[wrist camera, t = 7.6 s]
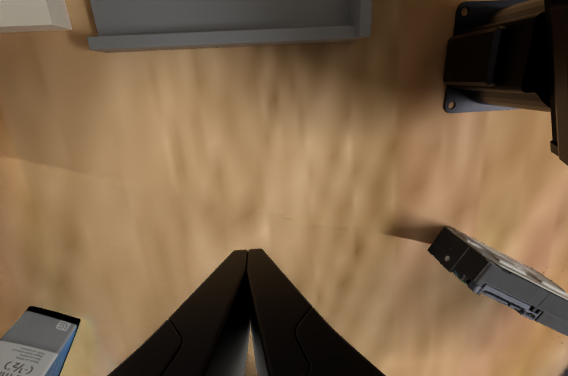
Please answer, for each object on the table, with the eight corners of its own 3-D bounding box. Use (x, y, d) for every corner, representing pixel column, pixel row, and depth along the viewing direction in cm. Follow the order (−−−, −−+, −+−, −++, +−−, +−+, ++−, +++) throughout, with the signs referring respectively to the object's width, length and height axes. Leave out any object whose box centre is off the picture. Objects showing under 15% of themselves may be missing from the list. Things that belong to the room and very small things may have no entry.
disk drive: (464, 220, 35) (600, 313, 21) (449, 239, 36) (571, 341, 22) (392, 182, 33) (491, 257, 19) (378, 203, 33) (462, 292, 19)
